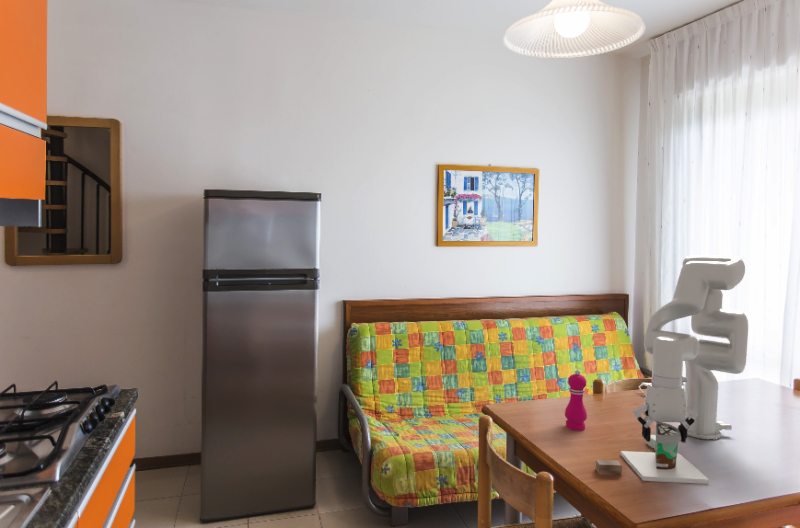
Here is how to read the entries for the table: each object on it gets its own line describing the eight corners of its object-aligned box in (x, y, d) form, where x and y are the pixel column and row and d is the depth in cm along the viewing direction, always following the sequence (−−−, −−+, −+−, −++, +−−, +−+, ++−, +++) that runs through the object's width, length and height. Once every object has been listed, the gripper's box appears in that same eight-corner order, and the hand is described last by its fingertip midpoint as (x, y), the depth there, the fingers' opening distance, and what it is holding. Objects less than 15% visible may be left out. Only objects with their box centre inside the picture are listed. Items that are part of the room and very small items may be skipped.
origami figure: (670, 397, 208) (671, 385, 208) (666, 402, 202) (666, 390, 201) (639, 391, 216) (640, 379, 215) (634, 395, 209) (635, 383, 209)
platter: (679, 457, 150) (679, 453, 149) (708, 483, 134) (708, 479, 134) (620, 454, 151) (620, 450, 151) (643, 480, 135) (643, 476, 135)
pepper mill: (588, 432, 168) (590, 373, 167) (565, 430, 169) (567, 371, 168) (584, 424, 175) (587, 368, 174) (563, 422, 176) (565, 366, 175)
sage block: (646, 444, 159) (646, 434, 159) (654, 443, 160) (655, 434, 160) (658, 452, 154) (658, 442, 153) (667, 451, 154) (667, 442, 154)
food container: (682, 475, 135) (683, 439, 135) (656, 470, 138) (657, 435, 137) (678, 457, 146) (679, 424, 146) (655, 453, 149) (656, 420, 149)
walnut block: (617, 471, 140) (617, 460, 140) (621, 476, 137) (622, 465, 137) (595, 470, 141) (596, 459, 141) (599, 475, 138) (599, 464, 138)
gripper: (691, 377, 144) (688, 435, 145) (629, 376, 145) (627, 433, 146) (705, 385, 137) (702, 446, 138) (640, 384, 138) (638, 445, 139)
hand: (664, 440), depth 142 cm, fingers open, 9 cm apart
